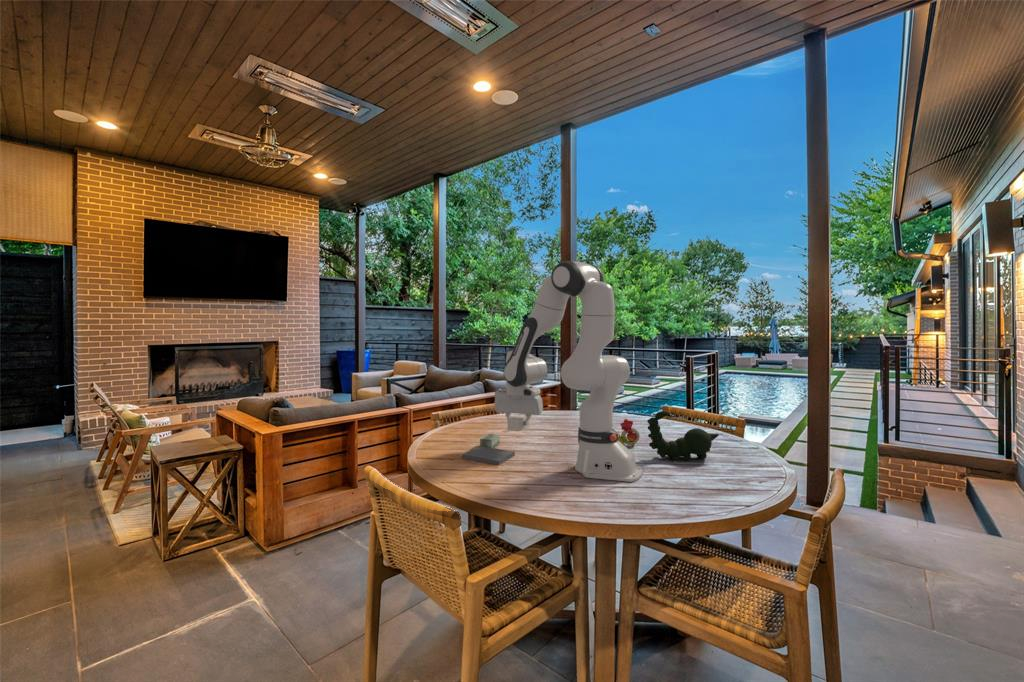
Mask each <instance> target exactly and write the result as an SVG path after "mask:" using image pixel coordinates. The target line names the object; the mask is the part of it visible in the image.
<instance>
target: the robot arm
mask: <svg viewBox="0 0 1024 682" xmlns="http://www.w3.org/2000/svg"><path fill="white" fill-rule="evenodd" d="M604 276H605V275H604V273H603V271H602V270H601V269H600V268H599V267H598V266H597V265H595V264H592V263H586V262H582V261H578V260H577V261H571V260H566V261H565V260H564V261H561V262H559V263H556V265H555V266H554V267H553V269H552V271H551V274H550V275H548V276H546V277H545V278H544V280H543V281H542V283H541V286H540V288H539V291H538V293H537V297H536V299H535V303H534V306H533V308H532V311H531V312H530V315H529V316H528V317H527V319H526V320H525V321H524V323H523V324H522V326H521V328H520V331H519V333H518V337H517V340H516V341H515V343H514V346H513V349H511V350H509V351H507V353H506V358H505V364H504V366H503V377H504V379H505V381H506V383H505V384H506V385H505V387H506V388H503V389H502V388H498V389H497V390H495V392H494V411H495V412H496V413H505V417H506V419H508V418H511V417H512V416H511V415H512V414H517V415H525V416H526V417H527V418H526V420H525V421H523V423H524V424H523V425H526V426H527V425H529V426H530V419H531V417H532V416H533V415H534V416H538V415H541V414H542V413H543V411H544V405H543V404H544V403H543V399H542V397H541V395H540V394H541V389H540V388H539V387H536V386H533V385H531V384H536V383H541V382H544V381H545V380H546V378H547V377H548V374H549V367H548V364H547V362H546V361H545V360H544V359H543V358H541V357H537V356H535V355H533V354H531V350H532V348H533V346H534V343H535V342H536V340H537V339H538V338H540V337H541V336H542V335H543V334H545V333H548V332H551V331H553V330H554V329H556V328H557V327H558V326H560V324H561V322H562V320H563V319H564V315H565V311H566V308H567V303H568V302H569V301H568V300H569V298H570V297H571V296H572V297H573V298H574V297H576V296H577V297H579V299H580V303H581V313H580V314H581V315H580V317H581V318H580V332H579V338H578V342H577V345H576V347H575V349H574V351H573V353H572V354H571V355H570V356H569V358H567V359H566V360H565V361H564V362H563V364H562V366H561V369H560V378H561V380H562V382H563V384H564V385H565V387H567V388H569V389H573V390H580V391H582V390H584V391H585V390H591V391H590V393H589V395H588V396H587V398H586V399H584V400H583V401H582V402H581V403H580V405H579V426H578V429H577V430H578V431H577V442H578V451H577V458H576V462H575V466H574V469H575V471H576V472H578V473H580V474H581V475H582V476H583V477H584V478H587V479H588V478H589V479H597V480H598V479H599V480H606V481H619V482H628V483H629V482H630V483H631V482H635V481H638V480H639V479H641V477H642V476H643V474H644V471H643V468H642V467H641V466H640V465H637V462H636V457H635V455H634V452H633V451H632V450H630V449H629V448H628V447H627V446H626V447H625V446H624V445H623V444H622V443H621V442H619V441H618V436H619V434H620V430H617V431H616V429H614V427H613V419H614V417H613V416H614V404H615V401H616V398H617V395H618V393H619V391H620V390H621V388H622V386H623V385H625V383H627V381H628V380H629V378H630V375H631V368H630V365H629V362H628V360H627V359H625V358H624V357H623V356H620V355H613V354H612V355H611V354H607V355H606V354H605V355H602V353H603V351H604V350H605V348H606V346H607V345H609V344H610V343H611V342H612V341H613V340H614V336H615V314H616V313H615V312H616V310H615V308H616V306H615V305H616V304H615V296H614V289H613V287H612V286H611V285H610V284H609V283H607V282H604V280H605V277H604Z"/></svg>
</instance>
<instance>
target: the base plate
mask: <svg viewBox="0 0 1024 682" xmlns="http://www.w3.org/2000/svg"><path fill="white" fill-rule="evenodd" d="M515 456H516V451H515V450H509V449H508V450H507V449H501V448H488V447H482V446H480V445H479V446H477V447H474V448H472V449H471V450H468V451H466V452H464V453H462V454H461V459H462V458H464V459H463V460H468V459H469V461H475V462H480V463H486V464H491V465H492V464H493V465H498V466H500V465H501V464H503V463H505V462H506V461H508V460H510V459H512V458H513V457H515Z"/></svg>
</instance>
